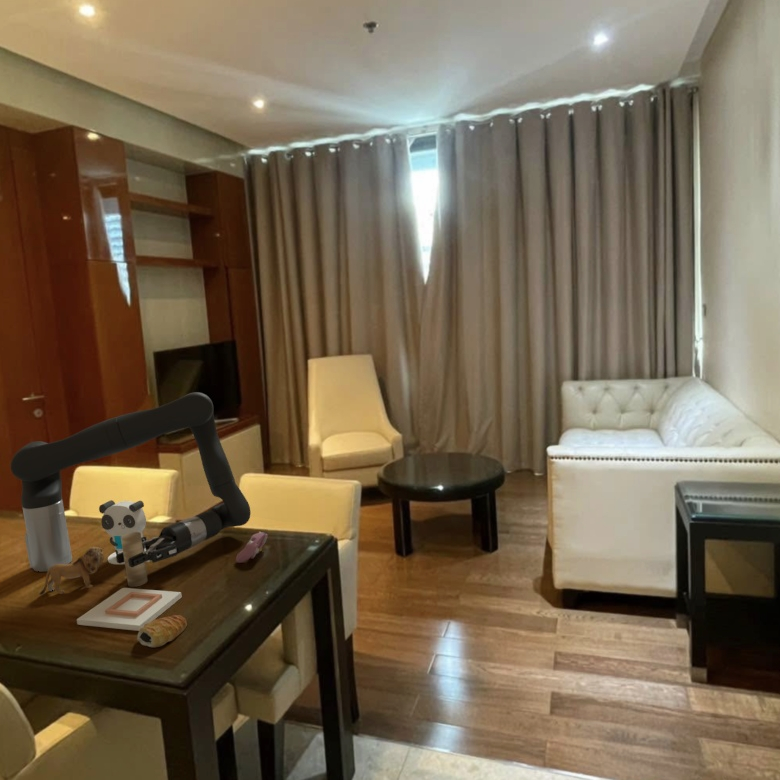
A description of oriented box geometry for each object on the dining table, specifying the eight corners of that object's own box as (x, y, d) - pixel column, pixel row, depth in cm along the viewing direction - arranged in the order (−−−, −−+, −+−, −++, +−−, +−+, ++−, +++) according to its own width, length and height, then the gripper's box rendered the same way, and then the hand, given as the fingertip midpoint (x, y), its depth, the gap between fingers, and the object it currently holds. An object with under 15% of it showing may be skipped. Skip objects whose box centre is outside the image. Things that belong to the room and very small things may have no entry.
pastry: (174, 620, 126) (171, 603, 125) (195, 628, 122) (193, 611, 122) (134, 644, 118) (132, 626, 118) (156, 652, 115) (153, 634, 114)
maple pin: (124, 586, 144) (116, 539, 142) (136, 577, 148) (129, 531, 146) (139, 587, 142) (132, 539, 141) (151, 578, 147) (144, 532, 145)
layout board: (77, 624, 127) (76, 615, 127) (123, 592, 140) (122, 584, 140) (140, 630, 123) (139, 621, 122) (181, 597, 136) (180, 588, 136)
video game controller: (249, 569, 151) (258, 546, 149) (233, 562, 152) (242, 538, 150) (264, 553, 161) (273, 531, 159) (249, 545, 161) (258, 523, 160)
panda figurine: (96, 563, 159) (87, 509, 156) (125, 545, 169) (117, 494, 167) (134, 565, 155) (126, 510, 153) (161, 547, 166) (154, 495, 164)
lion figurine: (107, 575, 150) (101, 541, 149) (108, 584, 146) (102, 549, 144) (40, 592, 144) (34, 557, 143) (39, 601, 139) (32, 565, 138)
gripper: (165, 517, 159) (104, 541, 145) (199, 525, 151) (138, 551, 137) (168, 544, 160) (108, 570, 146) (203, 553, 152) (143, 582, 138)
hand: (123, 561), depth 142 cm, fingers closed on maple pin, 4 cm apart
